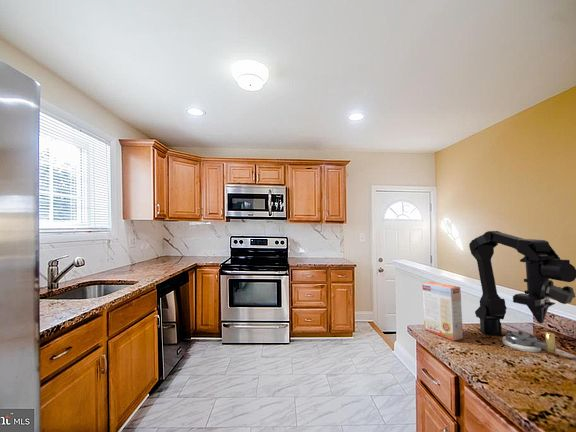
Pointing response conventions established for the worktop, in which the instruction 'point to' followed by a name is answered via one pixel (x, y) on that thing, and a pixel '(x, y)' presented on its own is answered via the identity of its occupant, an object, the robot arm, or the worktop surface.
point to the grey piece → (531, 340)
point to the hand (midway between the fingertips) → (540, 322)
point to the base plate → (520, 347)
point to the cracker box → (442, 310)
